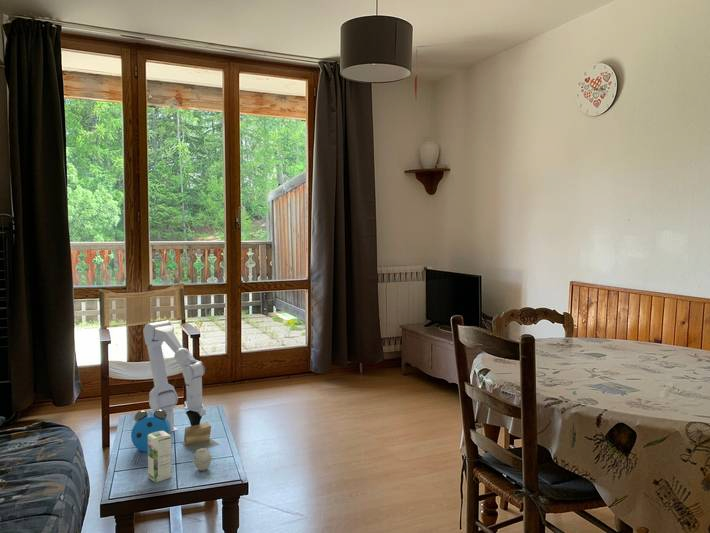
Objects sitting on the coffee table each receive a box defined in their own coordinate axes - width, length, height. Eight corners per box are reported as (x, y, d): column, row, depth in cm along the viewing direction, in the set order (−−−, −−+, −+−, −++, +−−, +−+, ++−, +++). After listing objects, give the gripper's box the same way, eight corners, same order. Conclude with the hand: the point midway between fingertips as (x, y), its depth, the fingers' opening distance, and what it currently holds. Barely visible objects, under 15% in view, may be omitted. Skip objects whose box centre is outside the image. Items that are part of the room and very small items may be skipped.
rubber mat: (180, 443, 203) (180, 442, 203) (205, 436, 209) (205, 435, 209) (193, 453, 194) (193, 452, 194) (219, 445, 201) (219, 444, 201)
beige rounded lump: (209, 463, 185) (208, 444, 185) (214, 471, 179) (214, 451, 179) (191, 467, 182) (190, 447, 182) (196, 475, 176) (195, 455, 176)
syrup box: (147, 477, 175) (146, 434, 174) (165, 471, 179) (163, 429, 178) (155, 483, 171) (153, 439, 170) (172, 477, 175) (171, 434, 174)
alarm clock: (171, 444, 201) (170, 405, 200) (169, 451, 195) (168, 411, 194) (134, 448, 199) (133, 408, 198) (131, 454, 193) (129, 414, 192)
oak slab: (183, 441, 202) (185, 427, 200) (206, 435, 208) (207, 421, 206) (187, 445, 199) (188, 431, 198) (209, 439, 205) (211, 425, 204)
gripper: (176, 392, 206) (177, 426, 207) (192, 401, 195) (193, 437, 196) (193, 388, 211) (194, 422, 212) (210, 397, 200) (211, 432, 201)
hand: (195, 429), depth 204 cm, fingers closed
